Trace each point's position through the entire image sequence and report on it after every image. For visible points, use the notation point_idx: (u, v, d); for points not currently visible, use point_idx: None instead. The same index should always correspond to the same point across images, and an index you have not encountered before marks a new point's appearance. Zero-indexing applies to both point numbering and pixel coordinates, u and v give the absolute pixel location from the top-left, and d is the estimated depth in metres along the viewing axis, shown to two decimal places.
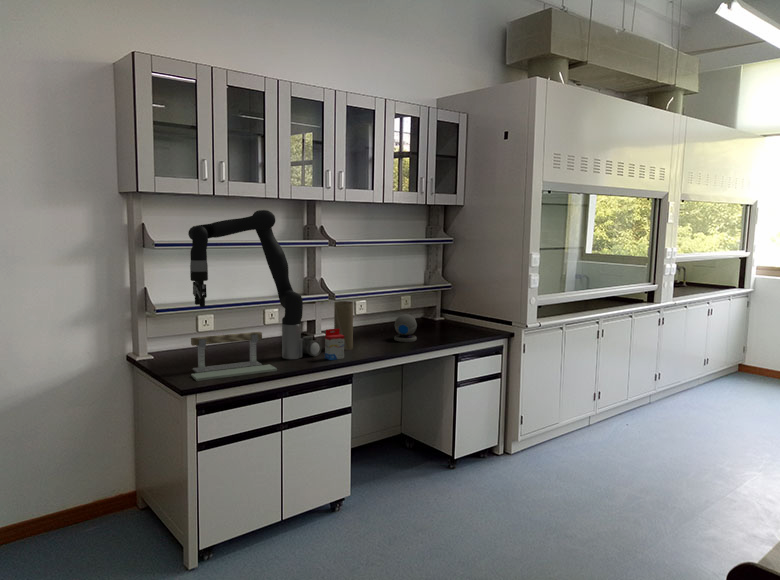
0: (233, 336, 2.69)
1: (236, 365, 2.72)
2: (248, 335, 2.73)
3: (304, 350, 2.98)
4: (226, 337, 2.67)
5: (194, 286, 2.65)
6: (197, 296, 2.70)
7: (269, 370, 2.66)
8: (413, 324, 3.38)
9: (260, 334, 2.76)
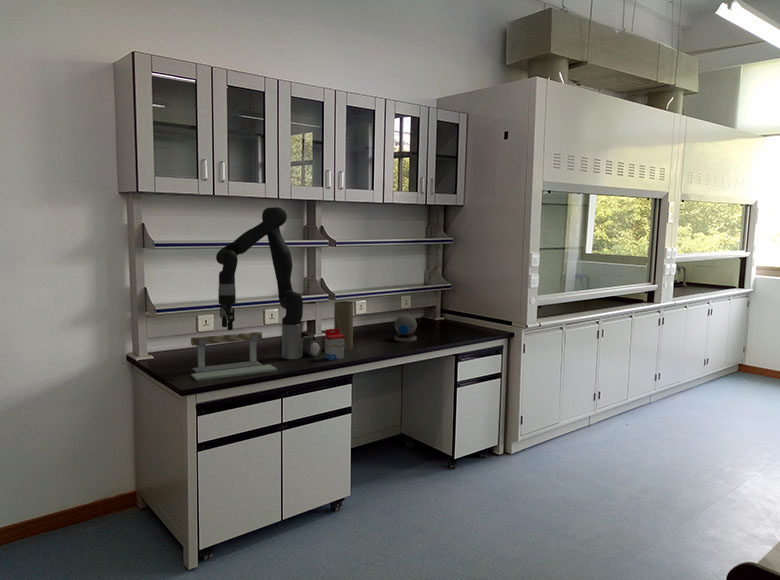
0: (233, 336, 2.69)
1: (236, 365, 2.72)
2: (248, 335, 2.73)
3: (304, 350, 2.98)
4: (226, 337, 2.67)
5: (222, 309, 2.68)
6: (224, 319, 2.72)
7: (269, 370, 2.66)
8: (413, 324, 3.38)
9: (260, 334, 2.76)
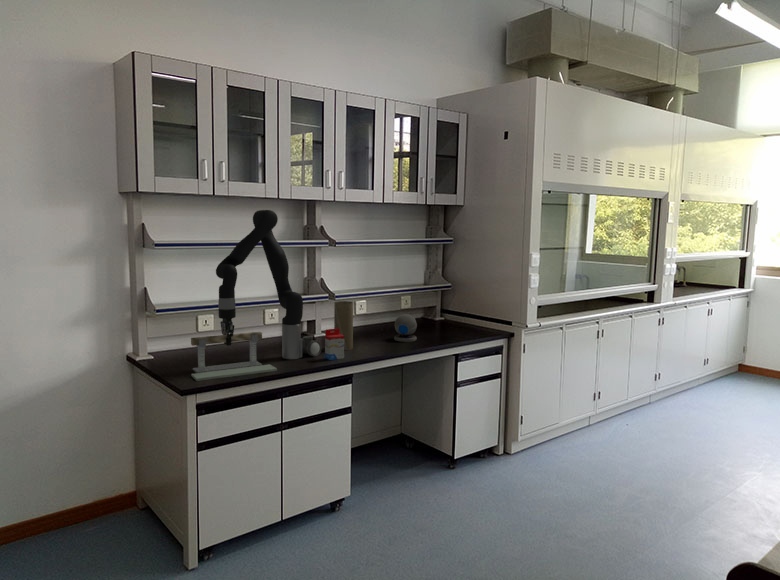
0: (233, 336, 2.69)
1: (236, 365, 2.72)
2: (248, 335, 2.73)
3: (304, 350, 2.98)
4: None
5: (222, 323, 2.68)
6: (226, 335, 2.71)
7: (269, 370, 2.66)
8: (413, 324, 3.38)
9: (260, 334, 2.76)
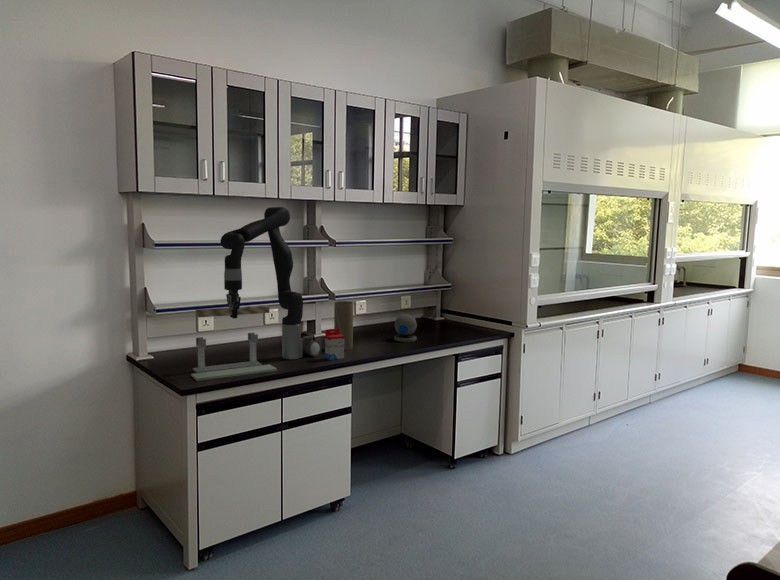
0: (239, 309, 2.59)
1: (236, 365, 2.72)
2: (255, 308, 2.63)
3: (304, 350, 2.98)
4: None
5: (228, 295, 2.58)
6: None
7: (269, 370, 2.66)
8: (413, 324, 3.38)
9: (267, 307, 2.66)
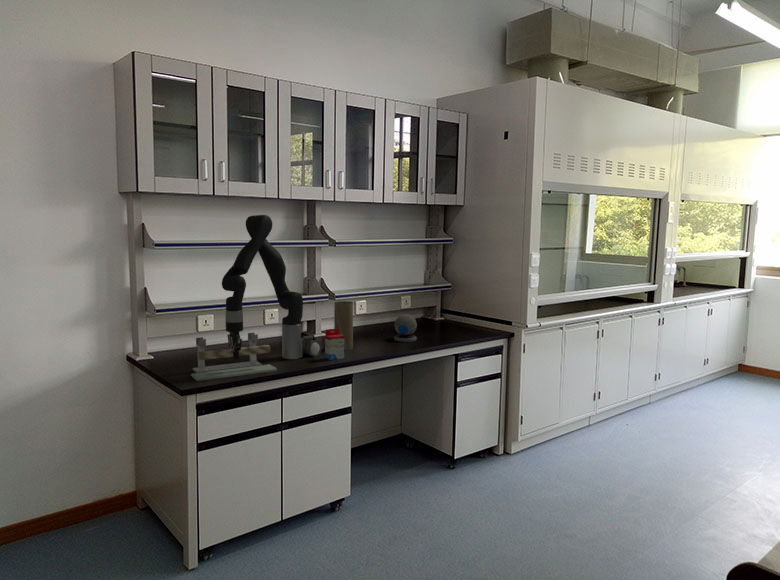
0: (240, 350, 2.61)
1: (236, 365, 2.72)
2: (256, 349, 2.65)
3: (304, 350, 2.98)
4: None
5: (229, 336, 2.60)
6: None
7: (269, 370, 2.66)
8: (413, 324, 3.38)
9: (268, 347, 2.68)
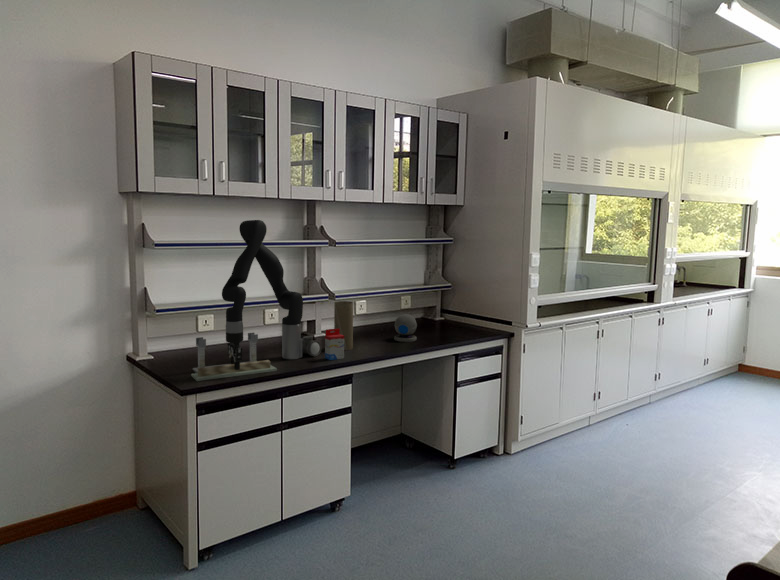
0: (241, 365, 2.62)
1: None
2: (256, 364, 2.65)
3: (304, 350, 2.98)
4: (233, 367, 2.60)
5: (229, 347, 2.61)
6: (233, 358, 2.64)
7: (269, 370, 2.66)
8: (413, 324, 3.38)
9: (268, 363, 2.69)
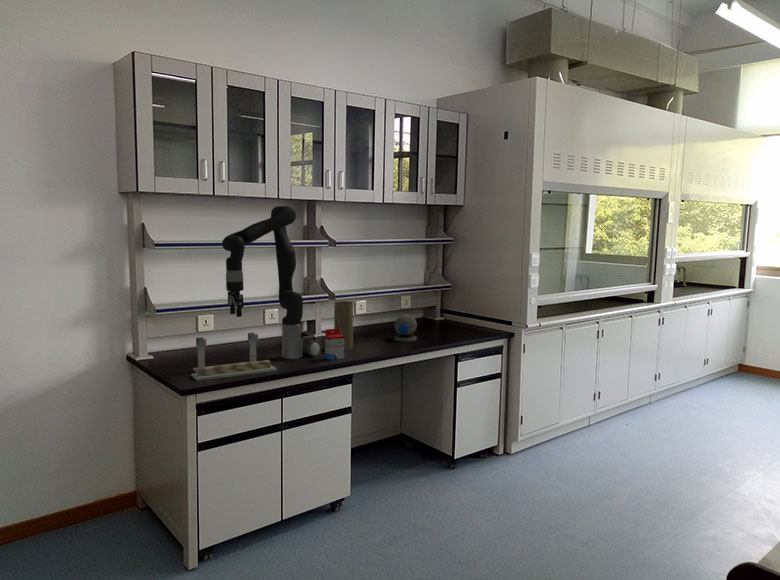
0: (241, 365, 2.62)
1: None
2: (256, 364, 2.65)
3: (304, 350, 2.98)
4: (233, 367, 2.60)
5: (230, 296, 2.66)
6: (232, 306, 2.70)
7: (269, 370, 2.66)
8: (413, 324, 3.38)
9: (268, 363, 2.69)
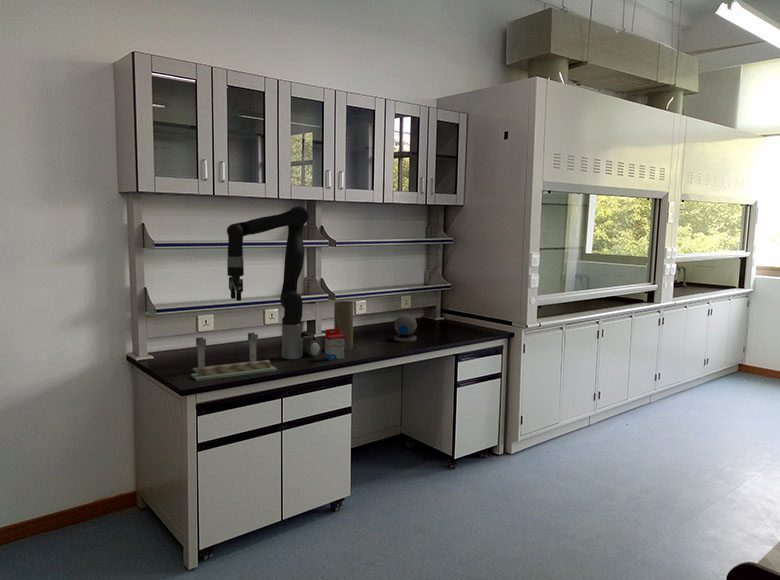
0: (241, 365, 2.62)
1: None
2: (256, 364, 2.65)
3: (304, 350, 2.98)
4: (233, 367, 2.60)
5: (231, 281, 2.81)
6: (233, 290, 2.85)
7: (269, 370, 2.66)
8: (413, 324, 3.38)
9: (268, 363, 2.69)
